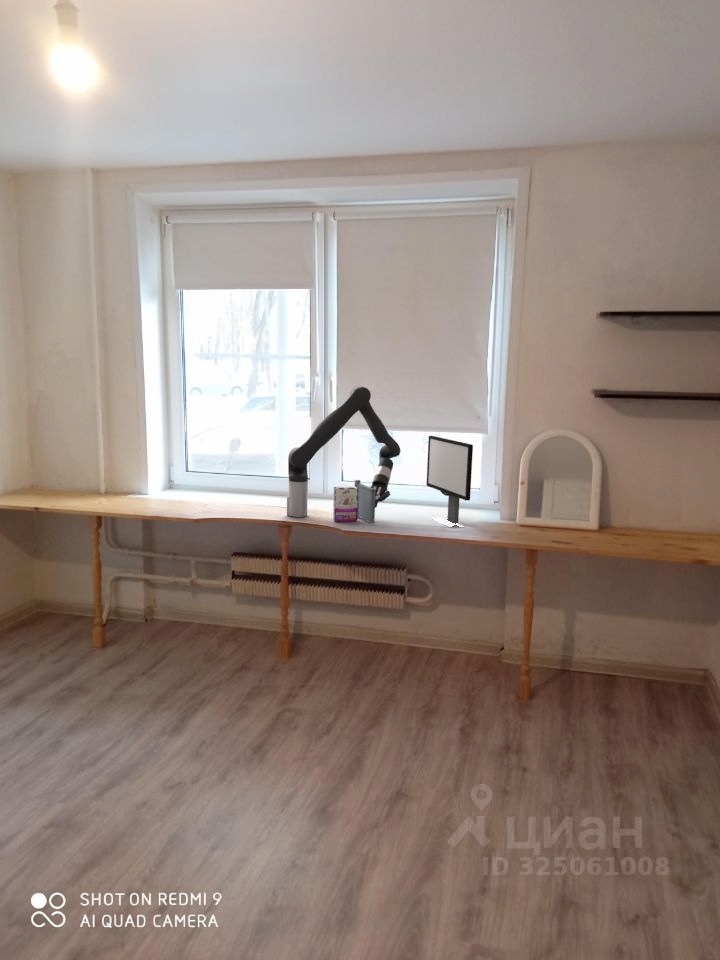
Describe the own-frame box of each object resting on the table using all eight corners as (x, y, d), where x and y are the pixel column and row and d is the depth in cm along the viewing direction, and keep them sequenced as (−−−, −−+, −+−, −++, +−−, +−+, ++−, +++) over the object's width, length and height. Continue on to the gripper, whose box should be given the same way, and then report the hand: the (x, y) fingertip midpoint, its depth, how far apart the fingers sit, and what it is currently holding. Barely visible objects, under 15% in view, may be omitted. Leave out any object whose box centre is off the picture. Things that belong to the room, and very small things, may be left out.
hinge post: (352, 516, 342) (353, 480, 339) (354, 515, 344) (355, 479, 342) (357, 517, 341) (359, 481, 338) (360, 516, 343) (361, 480, 340)
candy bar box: (355, 519, 335) (356, 486, 333) (357, 521, 331) (358, 487, 328) (332, 519, 333) (333, 486, 331) (334, 522, 328) (335, 488, 326)
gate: (356, 515, 340) (357, 483, 337) (359, 515, 341) (360, 483, 338) (370, 523, 325) (372, 489, 322) (374, 523, 325) (375, 489, 323)
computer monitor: (421, 514, 352) (424, 435, 346) (436, 513, 355) (439, 435, 348) (460, 533, 314) (465, 444, 308) (476, 532, 317) (481, 444, 311)
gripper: (367, 472, 336) (357, 501, 327) (393, 474, 332) (384, 504, 322) (370, 481, 342) (361, 510, 333) (396, 483, 337) (388, 513, 328)
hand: (373, 507), depth 328 cm, fingers closed
